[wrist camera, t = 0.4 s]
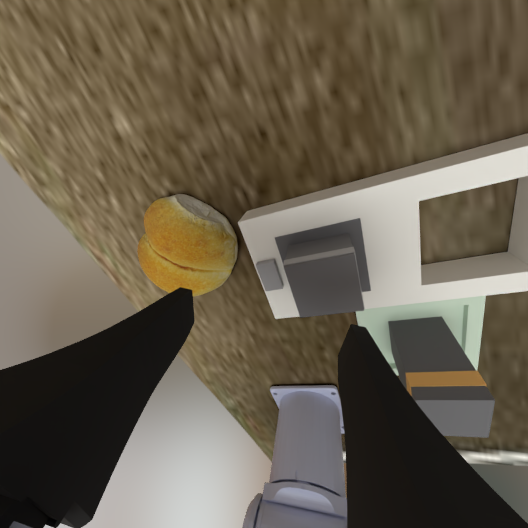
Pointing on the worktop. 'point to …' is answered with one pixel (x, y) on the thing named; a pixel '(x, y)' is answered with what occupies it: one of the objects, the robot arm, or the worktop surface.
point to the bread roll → (186, 245)
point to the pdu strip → (384, 238)
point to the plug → (441, 377)
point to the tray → (452, 311)
